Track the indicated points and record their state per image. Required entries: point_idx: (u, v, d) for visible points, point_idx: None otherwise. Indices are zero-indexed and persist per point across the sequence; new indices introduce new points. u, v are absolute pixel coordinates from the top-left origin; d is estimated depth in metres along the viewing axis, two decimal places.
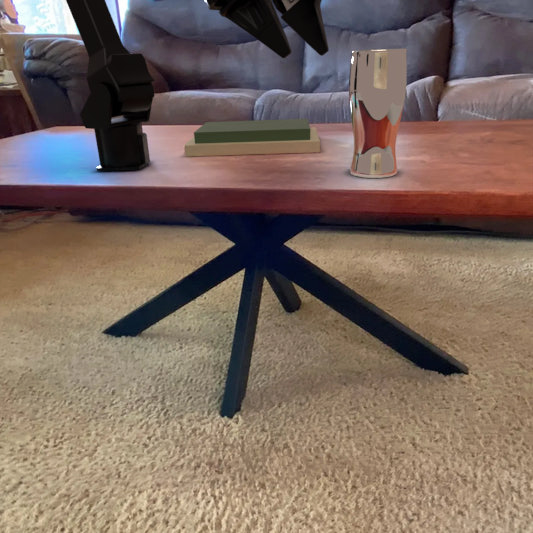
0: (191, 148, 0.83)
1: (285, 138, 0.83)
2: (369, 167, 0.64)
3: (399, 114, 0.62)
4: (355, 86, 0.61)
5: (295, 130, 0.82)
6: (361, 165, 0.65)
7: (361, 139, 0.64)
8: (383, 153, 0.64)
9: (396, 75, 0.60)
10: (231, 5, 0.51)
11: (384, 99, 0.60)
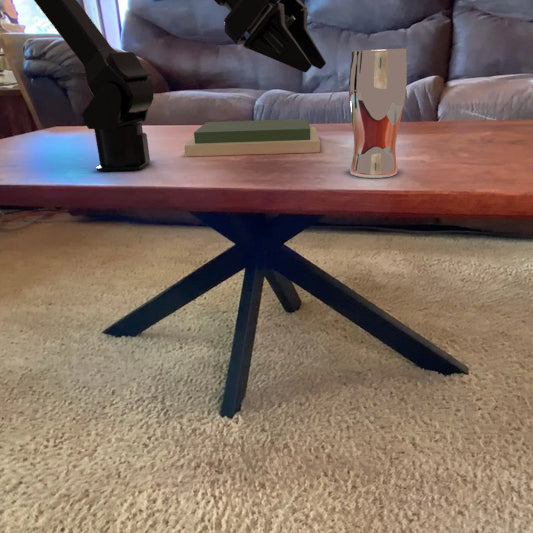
0: (191, 148, 0.83)
1: (285, 138, 0.83)
2: (369, 167, 0.64)
3: (399, 114, 0.62)
4: (355, 86, 0.61)
5: (295, 130, 0.82)
6: (361, 165, 0.65)
7: (361, 139, 0.64)
8: (383, 153, 0.64)
9: (396, 75, 0.60)
10: (255, 36, 0.57)
11: (384, 99, 0.60)
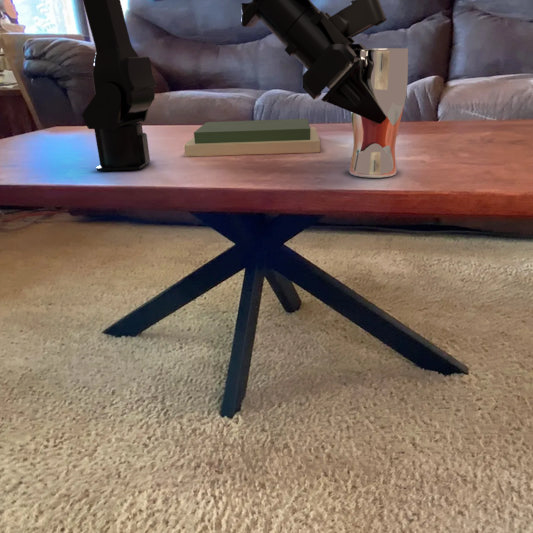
0: (191, 148, 0.83)
1: (285, 138, 0.83)
2: (368, 166, 0.64)
3: (399, 114, 0.62)
4: None
5: (295, 130, 0.82)
6: (360, 164, 0.65)
7: (360, 139, 0.64)
8: (383, 152, 0.63)
9: (397, 74, 0.60)
10: (334, 91, 0.58)
11: (385, 98, 0.60)
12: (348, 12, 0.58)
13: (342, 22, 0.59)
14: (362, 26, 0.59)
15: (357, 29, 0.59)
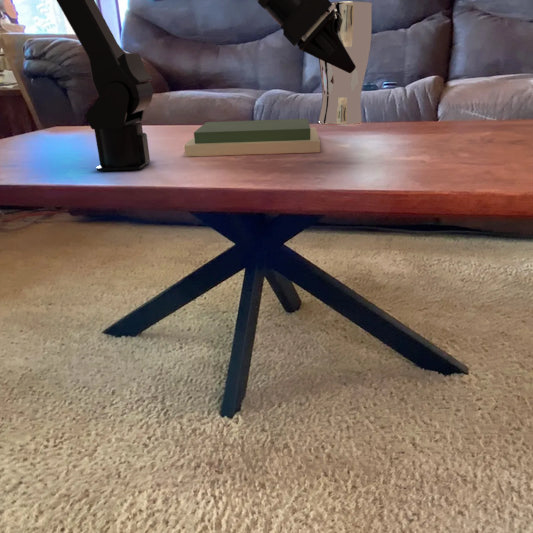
0: (191, 148, 0.83)
1: (285, 138, 0.83)
2: (339, 115, 0.69)
3: (365, 65, 0.67)
4: None
5: (295, 130, 0.82)
6: (331, 114, 0.69)
7: (331, 89, 0.68)
8: (352, 101, 0.68)
9: (364, 27, 0.65)
10: (311, 39, 0.62)
11: (354, 49, 0.65)
12: None
13: None
14: None
15: None
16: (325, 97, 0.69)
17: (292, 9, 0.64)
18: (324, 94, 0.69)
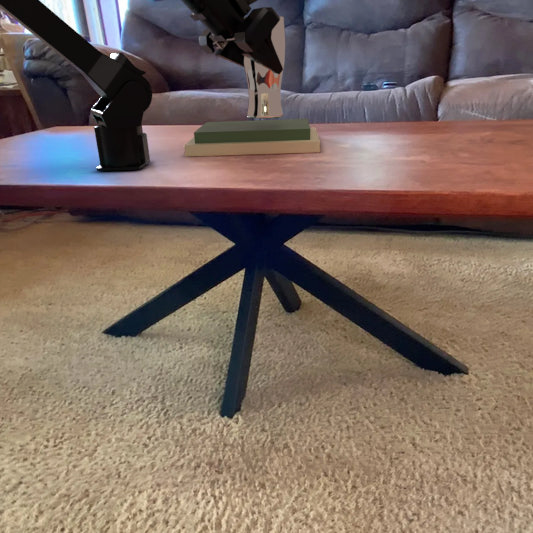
0: (191, 148, 0.83)
1: (285, 138, 0.83)
2: (271, 109, 0.82)
3: (283, 68, 0.83)
4: None
5: (295, 130, 0.82)
6: (264, 108, 0.82)
7: (262, 88, 0.81)
8: (278, 97, 0.83)
9: (284, 36, 0.80)
10: None
11: (280, 54, 0.80)
12: None
13: None
14: None
15: (255, 0, 0.76)
16: (256, 95, 0.82)
17: (231, 20, 0.75)
18: (254, 92, 0.82)
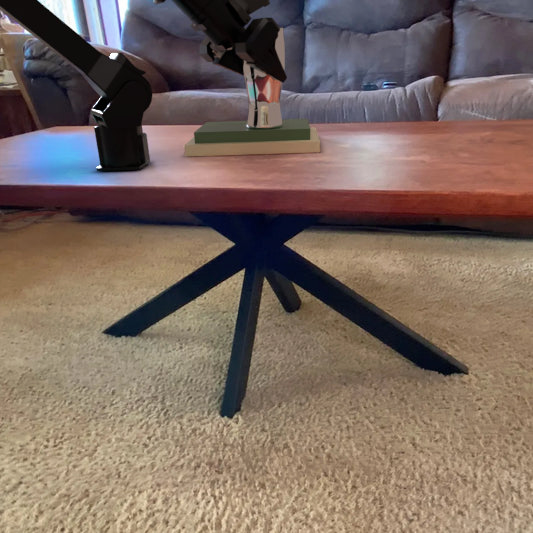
0: (191, 148, 0.83)
1: (285, 138, 0.83)
2: (271, 119, 0.83)
3: None
4: None
5: (295, 130, 0.82)
6: (264, 119, 0.83)
7: (262, 98, 0.82)
8: (278, 108, 0.84)
9: (284, 47, 0.81)
10: (263, 55, 0.74)
11: None
12: None
13: (245, 3, 0.75)
14: (258, 7, 0.77)
15: (255, 9, 0.77)
16: (256, 105, 0.83)
17: (231, 30, 0.76)
18: (255, 103, 0.83)
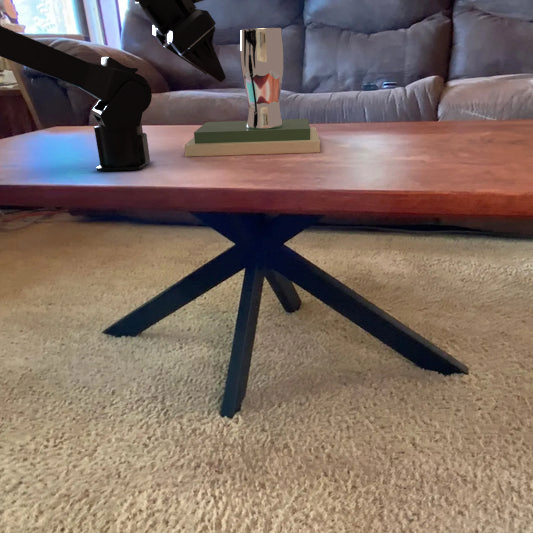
0: (191, 148, 0.83)
1: (285, 138, 0.83)
2: (271, 120, 0.83)
3: None
4: (256, 56, 0.79)
5: (295, 130, 0.82)
6: (264, 119, 0.83)
7: (262, 99, 0.82)
8: (277, 108, 0.84)
9: (282, 47, 0.80)
10: (194, 49, 0.69)
11: (278, 66, 0.80)
12: None
13: None
14: None
15: None
16: (256, 106, 0.83)
17: (171, 16, 0.71)
18: (254, 104, 0.83)
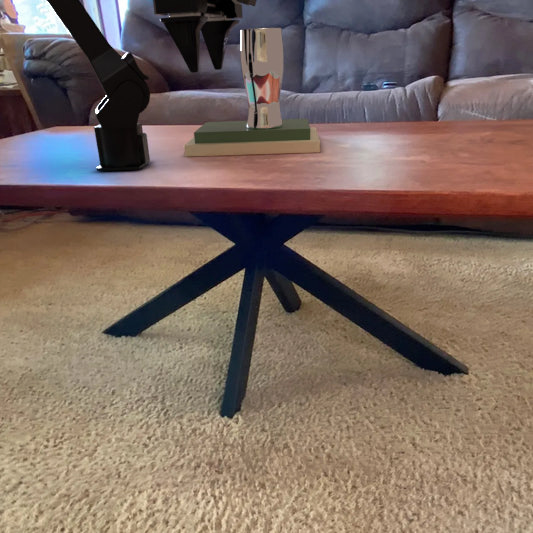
0: (191, 148, 0.83)
1: (285, 138, 0.83)
2: (271, 120, 0.83)
3: None
4: (256, 56, 0.79)
5: (295, 130, 0.82)
6: (264, 119, 0.83)
7: (262, 99, 0.82)
8: (277, 108, 0.84)
9: (282, 47, 0.80)
10: (171, 21, 0.67)
11: (278, 66, 0.80)
12: None
13: None
14: None
15: None
16: (256, 106, 0.83)
17: None
18: (254, 104, 0.83)
